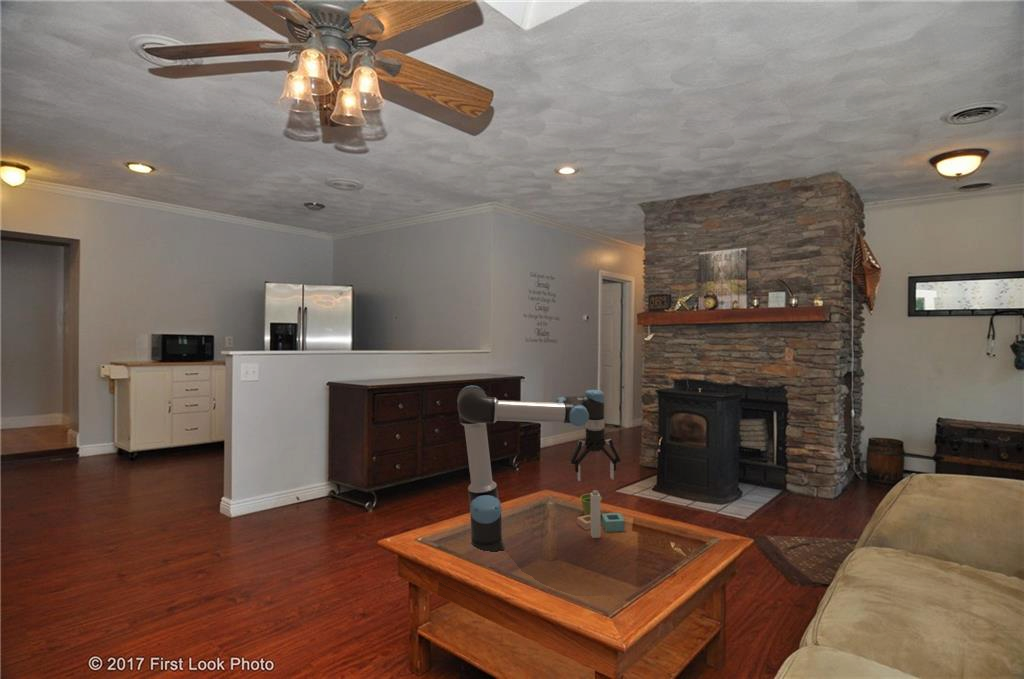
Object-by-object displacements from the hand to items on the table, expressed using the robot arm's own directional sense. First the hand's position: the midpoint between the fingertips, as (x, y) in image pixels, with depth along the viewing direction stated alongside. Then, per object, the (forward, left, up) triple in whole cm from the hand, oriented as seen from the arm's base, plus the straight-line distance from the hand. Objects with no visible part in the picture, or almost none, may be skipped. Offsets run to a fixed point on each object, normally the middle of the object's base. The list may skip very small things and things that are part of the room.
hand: (595, 479), depth 227 cm
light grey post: (0, 0, -24) cm, 24 cm away
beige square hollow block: (-1, +10, -24) cm, 26 cm away
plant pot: (+2, +19, -25) cm, 31 cm away
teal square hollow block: (+9, +7, -24) cm, 27 cm away
